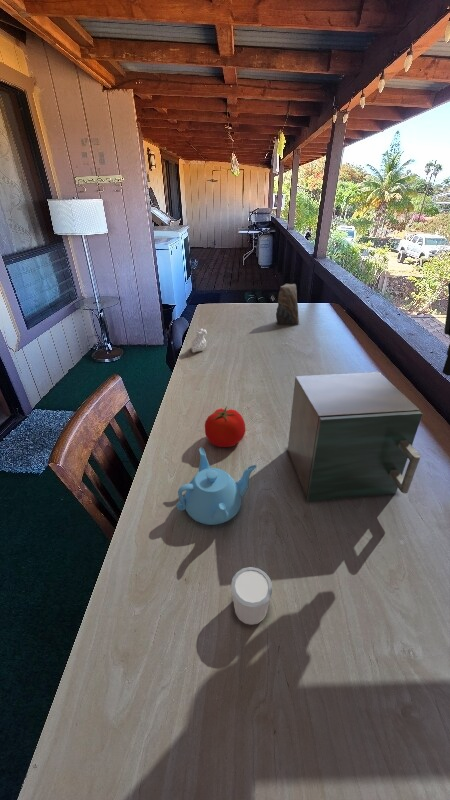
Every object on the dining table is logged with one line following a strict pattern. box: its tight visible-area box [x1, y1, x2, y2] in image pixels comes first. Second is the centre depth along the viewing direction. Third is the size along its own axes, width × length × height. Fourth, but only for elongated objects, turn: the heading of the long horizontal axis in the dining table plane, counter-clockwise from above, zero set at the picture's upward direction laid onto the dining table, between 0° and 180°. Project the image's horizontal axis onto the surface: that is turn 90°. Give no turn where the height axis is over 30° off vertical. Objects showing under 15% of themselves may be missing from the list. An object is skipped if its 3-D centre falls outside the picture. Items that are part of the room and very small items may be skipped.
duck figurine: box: [191, 328, 208, 353], centre depth 159 cm, size 12×8×11 cm
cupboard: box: [287, 371, 421, 498], centre depth 86 cm, size 18×22×24 cm
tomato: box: [204, 405, 246, 448], centre depth 100 cm, size 12×12×10 cm
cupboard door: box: [306, 410, 423, 502], centre depth 75 cm, size 7×22×23 cm, turn 96°
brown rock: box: [275, 283, 300, 326], centre depth 190 cm, size 13×13×20 cm
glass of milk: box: [230, 566, 273, 626], centre depth 60 cm, size 7×7×7 cm
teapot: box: [175, 447, 257, 526], centre depth 79 cm, size 15×15×10 cm
